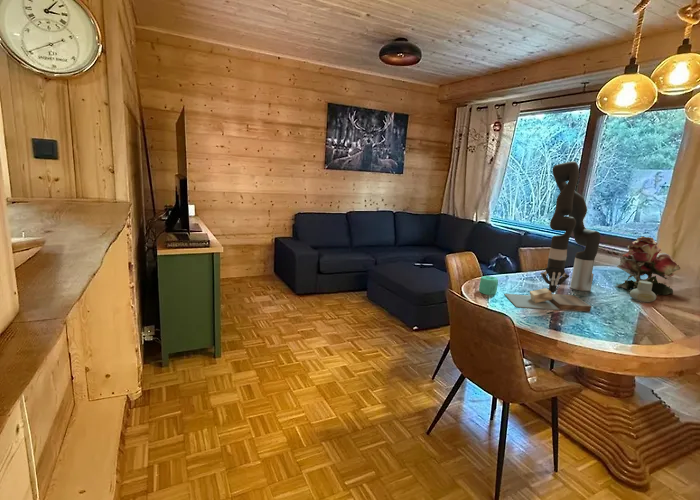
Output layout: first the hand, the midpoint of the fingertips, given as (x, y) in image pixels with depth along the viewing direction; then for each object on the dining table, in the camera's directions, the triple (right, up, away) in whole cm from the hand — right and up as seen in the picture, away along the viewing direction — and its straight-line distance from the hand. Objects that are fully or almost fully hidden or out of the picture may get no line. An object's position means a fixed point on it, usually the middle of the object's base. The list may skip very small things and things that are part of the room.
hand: (551, 292), depth 191 cm
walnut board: (+8, -6, +1) cm, 10 cm away
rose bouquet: (+68, -2, +35) cm, 76 cm away
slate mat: (-9, -5, +2) cm, 11 cm away
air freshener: (+53, -6, +12) cm, 55 cm away
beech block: (-4, -4, +2) cm, 6 cm away
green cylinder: (-26, -2, +14) cm, 30 cm away
